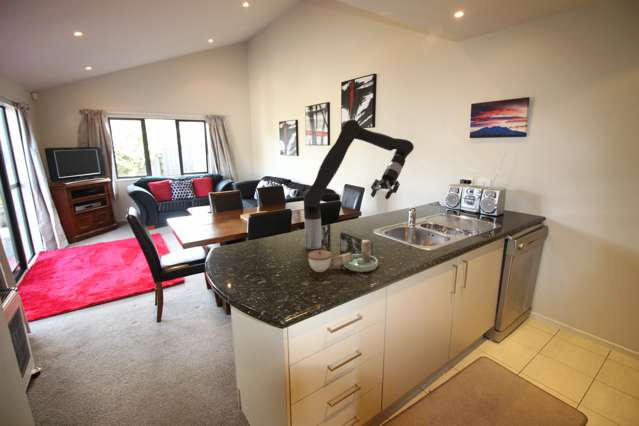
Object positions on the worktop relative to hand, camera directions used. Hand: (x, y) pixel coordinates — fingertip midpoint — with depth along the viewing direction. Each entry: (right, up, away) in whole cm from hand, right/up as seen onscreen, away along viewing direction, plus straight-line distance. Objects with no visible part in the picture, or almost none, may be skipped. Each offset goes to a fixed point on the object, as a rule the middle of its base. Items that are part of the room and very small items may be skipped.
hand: (379, 197), depth 153 cm
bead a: (-7, -31, -3) cm, 32 cm away
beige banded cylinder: (-15, -28, -10) cm, 34 cm away
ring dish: (-10, -33, -6) cm, 35 cm away
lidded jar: (-30, -35, -10) cm, 47 cm away
